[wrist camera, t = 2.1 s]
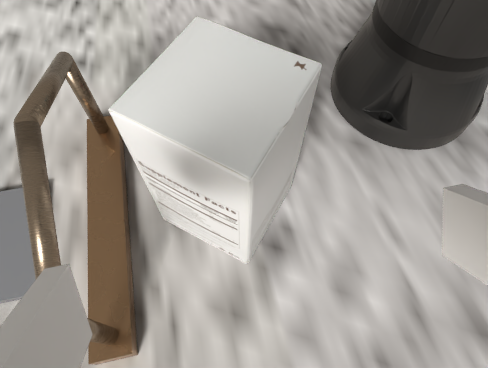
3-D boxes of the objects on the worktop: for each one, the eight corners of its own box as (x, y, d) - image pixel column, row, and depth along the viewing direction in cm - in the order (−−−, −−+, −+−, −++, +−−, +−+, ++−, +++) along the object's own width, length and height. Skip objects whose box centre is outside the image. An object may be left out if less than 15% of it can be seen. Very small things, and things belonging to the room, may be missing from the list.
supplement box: (212, 146, 35) (196, 9, 22) (293, 185, 33) (329, 60, 20) (159, 219, 31) (100, 106, 18) (246, 268, 29) (253, 181, 16)
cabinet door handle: (122, 124, 36) (57, -14, 23) (137, 354, 26) (38, 336, 13) (92, 128, 36) (10, -8, 23) (96, 364, 26) (-47, 354, 13)
